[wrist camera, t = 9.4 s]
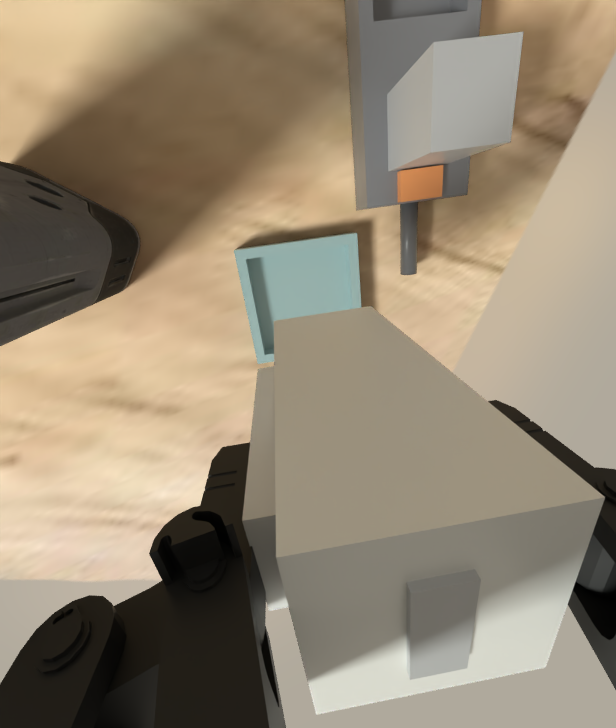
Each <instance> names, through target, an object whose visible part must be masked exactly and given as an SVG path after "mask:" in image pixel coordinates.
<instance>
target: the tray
mask: <svg viewBox="0 0 616 728" xmlns="http://www.w3.org/2000/svg"><path fill="white" fill-rule="evenodd" d="M234 253H235V258H236V263H237V267H238V272H239V277H240V281H241V286H242V291H243V296H244V300H245V305H246V310H247V314H248V319H249V324H250V329H251V333H252V338H253V343H254V348H255V352H256V357H257V362H258V364H260V363H267V362H273V361H274V321H276V320H282V319H289V318H295V317H302V316H309V315H315V314H322V313H328V312H335V311H341V310H348V309H355V308H361V293H360V275H359V258H358V240H357V233H352V232H351V233H344V234H337V235H330V236H323V237H316V238H309V239H302V240H295V241H287V242H280V243H273V244H266V245H259V246H252V247H245V248H238V249H235V250H234Z"/></svg>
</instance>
